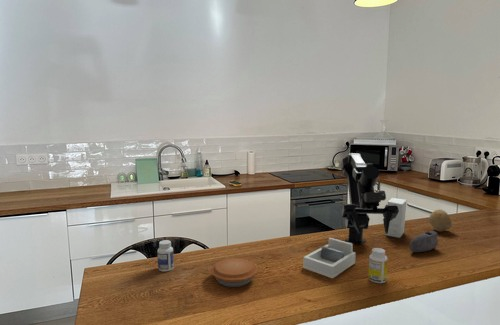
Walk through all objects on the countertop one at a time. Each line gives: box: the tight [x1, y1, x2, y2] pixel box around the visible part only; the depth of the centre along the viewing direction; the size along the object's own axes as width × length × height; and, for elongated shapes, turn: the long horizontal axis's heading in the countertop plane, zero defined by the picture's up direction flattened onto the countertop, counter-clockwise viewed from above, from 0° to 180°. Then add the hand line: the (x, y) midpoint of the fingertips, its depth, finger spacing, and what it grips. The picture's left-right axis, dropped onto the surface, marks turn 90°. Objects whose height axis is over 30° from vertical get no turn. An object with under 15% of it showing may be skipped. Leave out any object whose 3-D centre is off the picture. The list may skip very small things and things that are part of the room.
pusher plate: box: [320, 245, 344, 262], centre depth 126 cm, size 1×8×4 cm, turn 47°
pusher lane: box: [302, 237, 356, 279], centre depth 125 cm, size 16×12×7 cm
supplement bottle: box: [367, 247, 388, 284], centre depth 114 cm, size 6×6×10 cm
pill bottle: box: [157, 239, 175, 272], centre depth 123 cm, size 5×5×10 cm
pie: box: [210, 257, 259, 288], centre depth 115 cm, size 16×16×5 cm
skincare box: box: [385, 197, 407, 239], centre depth 156 cm, size 8×7×16 cm
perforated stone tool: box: [409, 230, 439, 253], centre depth 138 cm, size 15×5×7 cm, turn 116°
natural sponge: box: [428, 209, 453, 232], centre depth 160 cm, size 9×9×10 cm
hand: (373, 233), depth 120 cm, fingers open, 9 cm apart
